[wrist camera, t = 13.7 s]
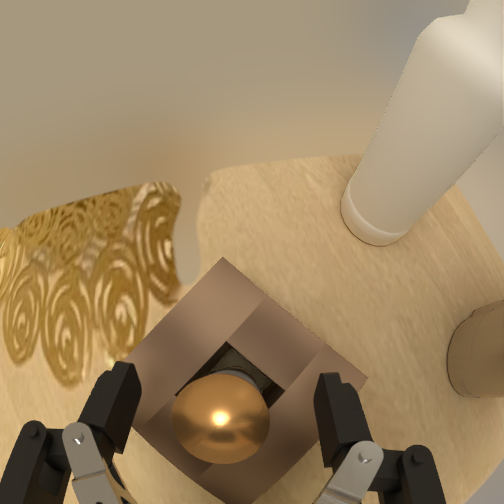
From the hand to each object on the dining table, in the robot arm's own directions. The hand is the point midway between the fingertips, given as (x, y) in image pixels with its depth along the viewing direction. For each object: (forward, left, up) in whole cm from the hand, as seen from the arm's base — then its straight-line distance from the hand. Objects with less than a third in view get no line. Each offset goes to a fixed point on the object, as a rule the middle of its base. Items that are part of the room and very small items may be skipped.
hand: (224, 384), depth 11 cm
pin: (+1, +1, -12) cm, 12 cm away
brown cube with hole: (+1, +1, -12) cm, 12 cm away
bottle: (-21, +1, -13) cm, 25 cm away
